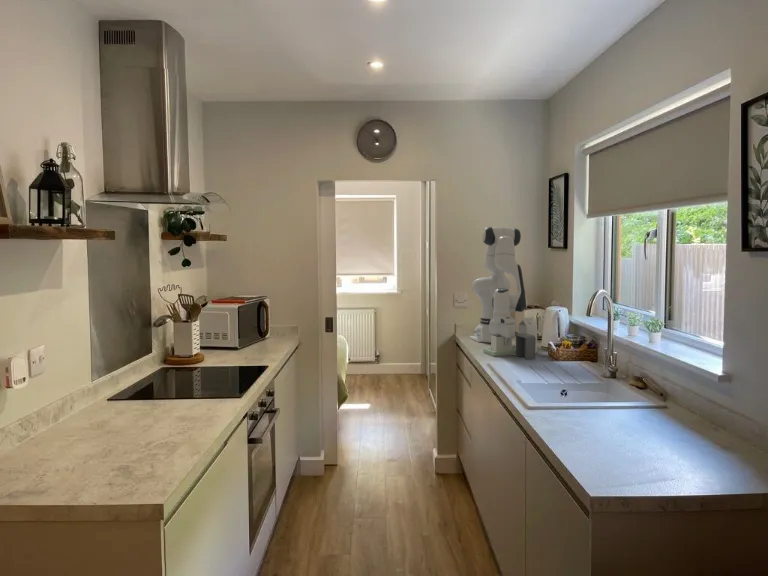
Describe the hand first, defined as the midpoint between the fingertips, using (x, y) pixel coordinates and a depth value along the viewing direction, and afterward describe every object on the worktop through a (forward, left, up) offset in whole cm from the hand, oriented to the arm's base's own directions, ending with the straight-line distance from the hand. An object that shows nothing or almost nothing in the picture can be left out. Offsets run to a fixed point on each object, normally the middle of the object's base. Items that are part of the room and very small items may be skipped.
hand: (501, 343), depth 298 cm
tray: (0, 0, -5) cm, 5 cm away
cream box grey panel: (0, 0, -5) cm, 5 cm away
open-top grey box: (+13, +6, -5) cm, 15 cm away
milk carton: (+3, +15, -6) cm, 16 cm away
